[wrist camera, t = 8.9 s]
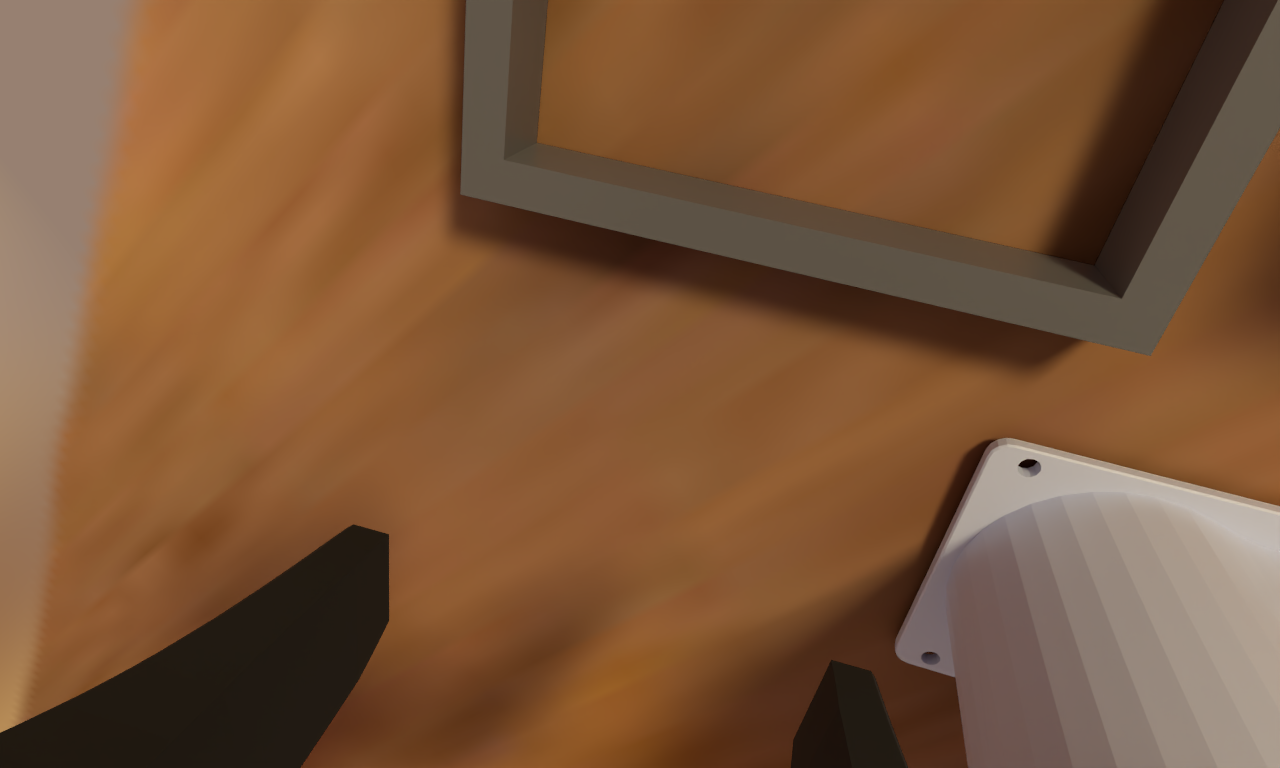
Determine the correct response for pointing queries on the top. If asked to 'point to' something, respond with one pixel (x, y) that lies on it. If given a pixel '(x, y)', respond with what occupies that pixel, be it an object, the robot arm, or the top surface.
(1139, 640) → the robot arm
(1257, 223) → the top surface
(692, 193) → the frame
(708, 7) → the top surface
